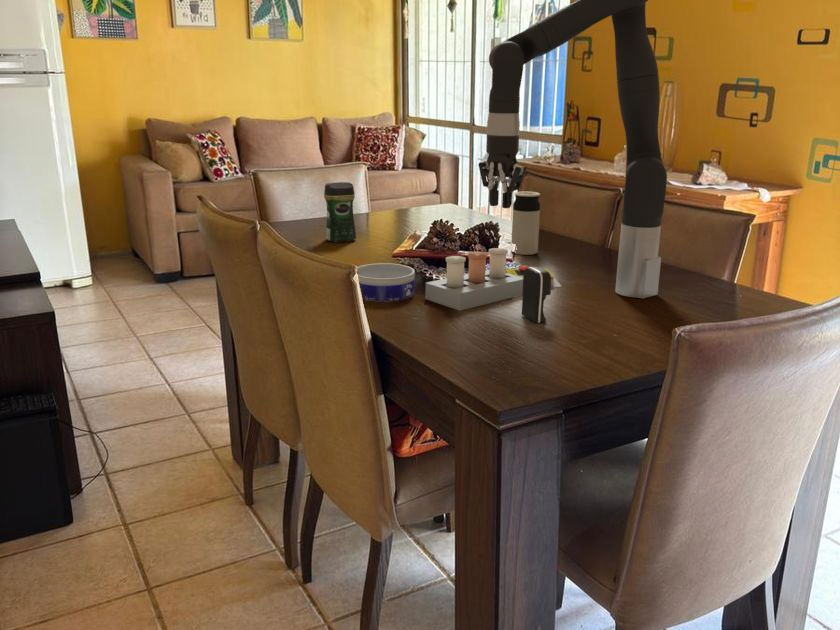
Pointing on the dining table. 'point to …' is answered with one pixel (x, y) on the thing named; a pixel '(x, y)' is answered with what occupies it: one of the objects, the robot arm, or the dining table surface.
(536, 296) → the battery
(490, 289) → the board
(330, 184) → the coffee jar
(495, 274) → the ivory plug
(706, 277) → the dining table surface
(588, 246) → the dining table surface
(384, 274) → the dog bowl
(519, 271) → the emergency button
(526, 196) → the travel mug
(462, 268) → the ivory plug
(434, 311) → the dining table surface
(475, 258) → the terracotta plug
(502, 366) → the dining table surface
